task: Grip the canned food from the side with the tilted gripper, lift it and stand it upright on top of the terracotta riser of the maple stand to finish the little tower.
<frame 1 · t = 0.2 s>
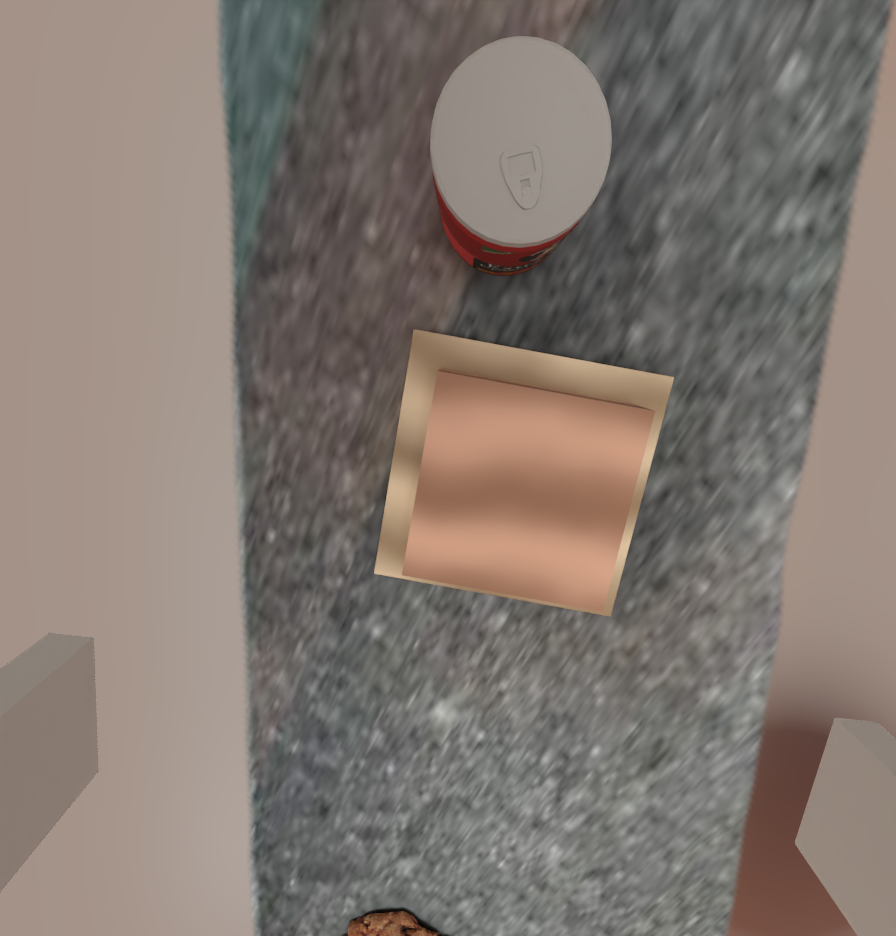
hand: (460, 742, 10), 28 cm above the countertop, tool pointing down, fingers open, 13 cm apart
stand: (514, 473, 37), on the countertop
canned food: (503, 209, 34), on the countertop
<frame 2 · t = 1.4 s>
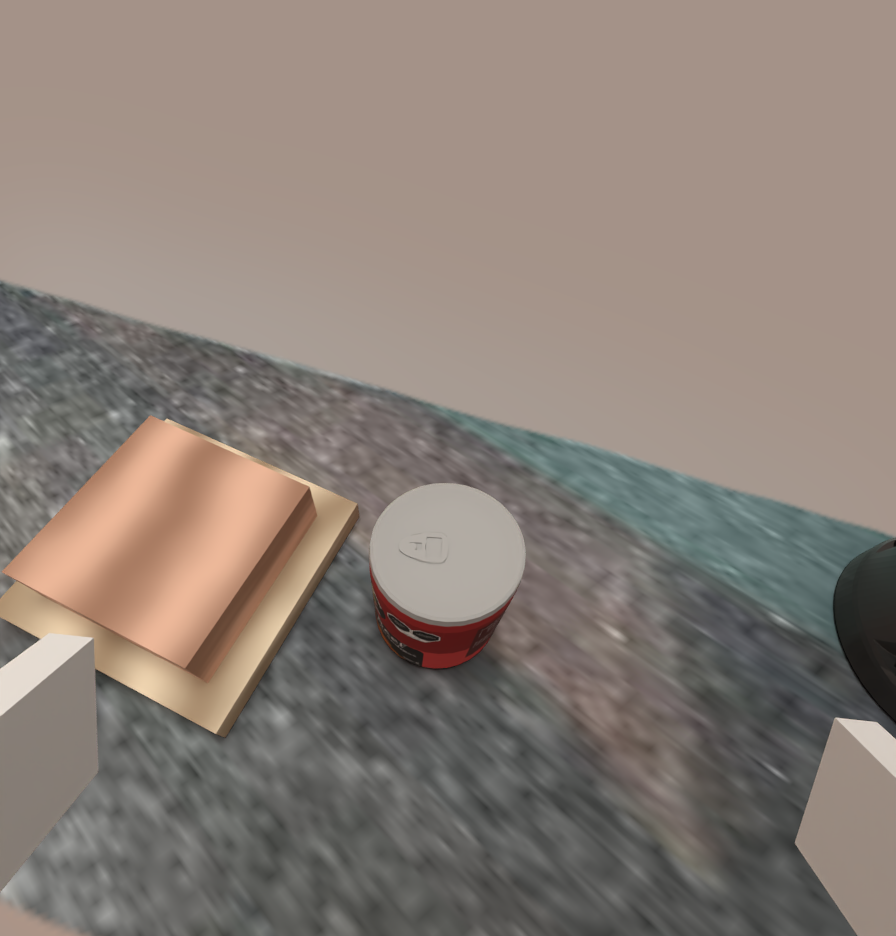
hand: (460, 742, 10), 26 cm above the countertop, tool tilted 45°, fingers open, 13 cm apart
stand: (197, 564, 37), on the countertop
canned food: (435, 613, 37), on the countertop
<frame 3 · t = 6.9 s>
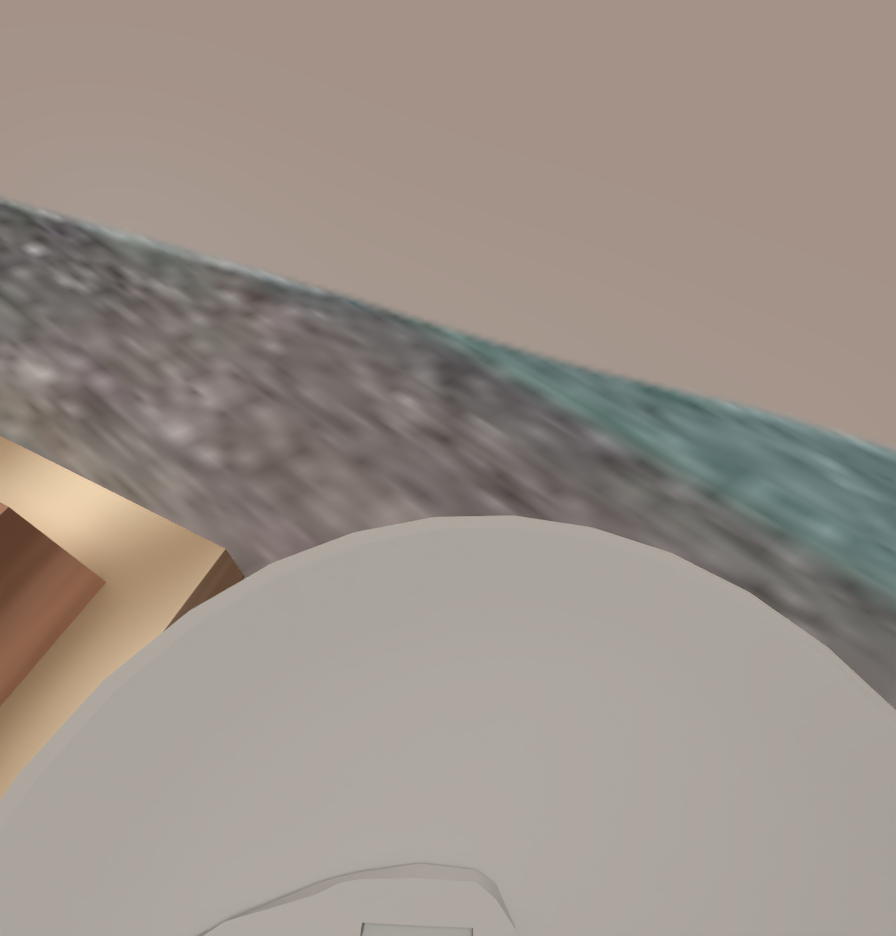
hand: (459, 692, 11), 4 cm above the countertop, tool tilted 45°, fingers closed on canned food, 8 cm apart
canned food: (432, 875, 13), on the countertop, touching gripper
when the fingers open (11 cm above the countertop, at t = 12.0 s): canned food drops 1 cm, resting on stand.
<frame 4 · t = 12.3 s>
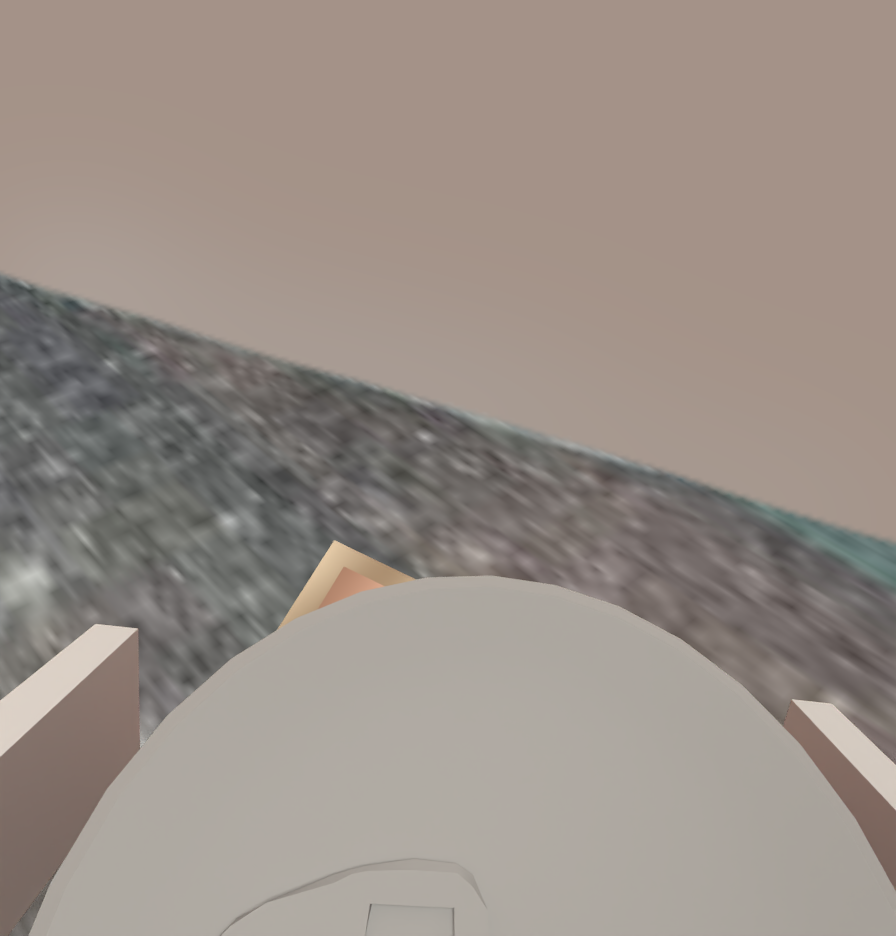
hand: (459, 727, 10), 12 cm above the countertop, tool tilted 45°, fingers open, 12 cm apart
stand: (420, 852, 19), on the countertop
canned food: (429, 873, 14), point 6 cm above the countertop, touching stand
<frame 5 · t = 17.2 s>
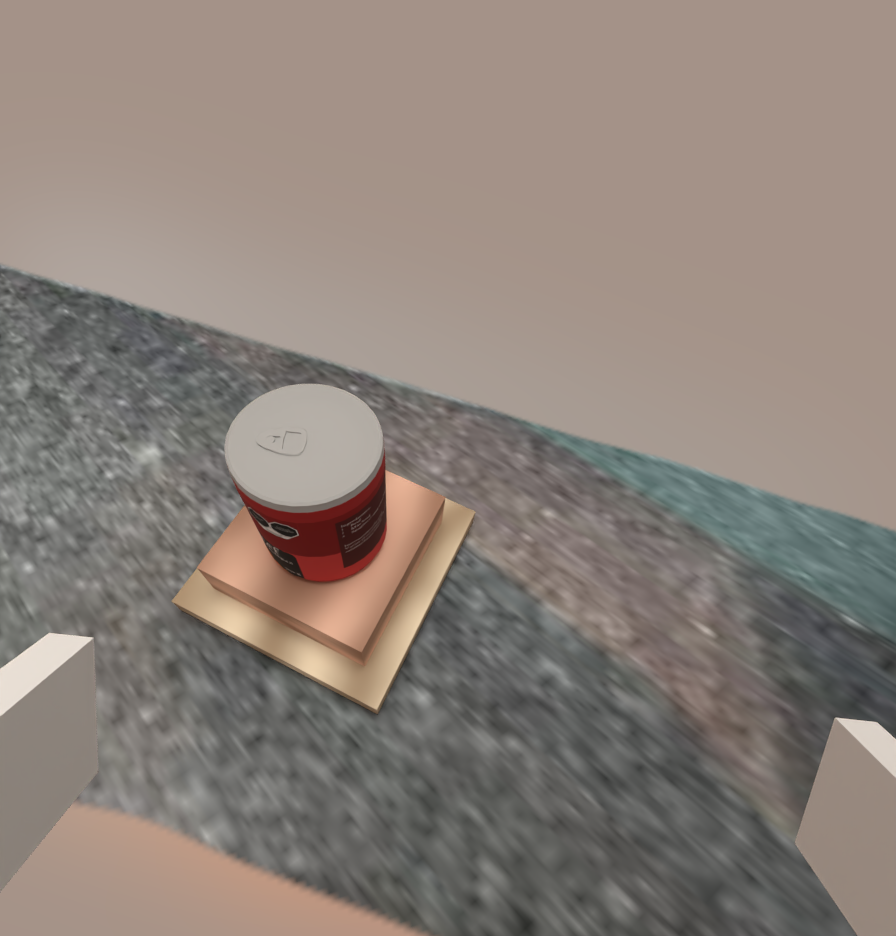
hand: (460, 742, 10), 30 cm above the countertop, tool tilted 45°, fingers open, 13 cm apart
stand: (336, 563, 42), on the countertop
canned food: (328, 532, 37), point 6 cm above the countertop, touching stand
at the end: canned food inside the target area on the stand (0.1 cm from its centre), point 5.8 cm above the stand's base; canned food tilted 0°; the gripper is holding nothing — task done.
